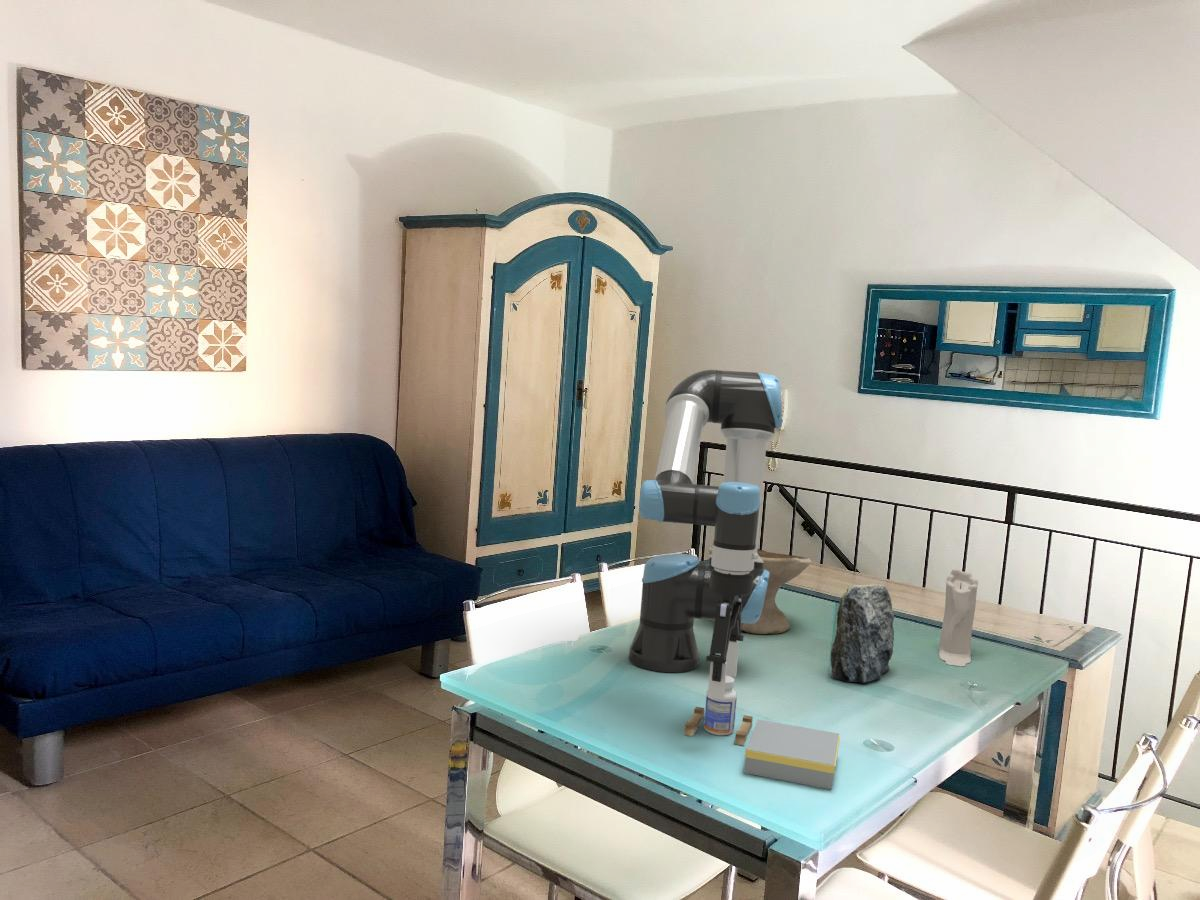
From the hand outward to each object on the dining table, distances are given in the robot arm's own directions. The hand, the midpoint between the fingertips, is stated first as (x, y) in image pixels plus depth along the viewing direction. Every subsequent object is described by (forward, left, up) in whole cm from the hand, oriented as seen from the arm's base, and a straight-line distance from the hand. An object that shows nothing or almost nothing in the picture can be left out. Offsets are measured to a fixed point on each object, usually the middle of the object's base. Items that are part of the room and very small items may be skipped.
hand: (722, 686), depth 175 cm
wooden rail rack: (0, 0, -8) cm, 8 cm away
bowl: (-4, +73, -9) cm, 74 cm away
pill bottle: (0, 0, -9) cm, 9 cm away
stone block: (+24, +46, -9) cm, 53 cm away
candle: (+44, +70, -9) cm, 83 cm away
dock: (+14, -9, -8) cm, 18 cm away
